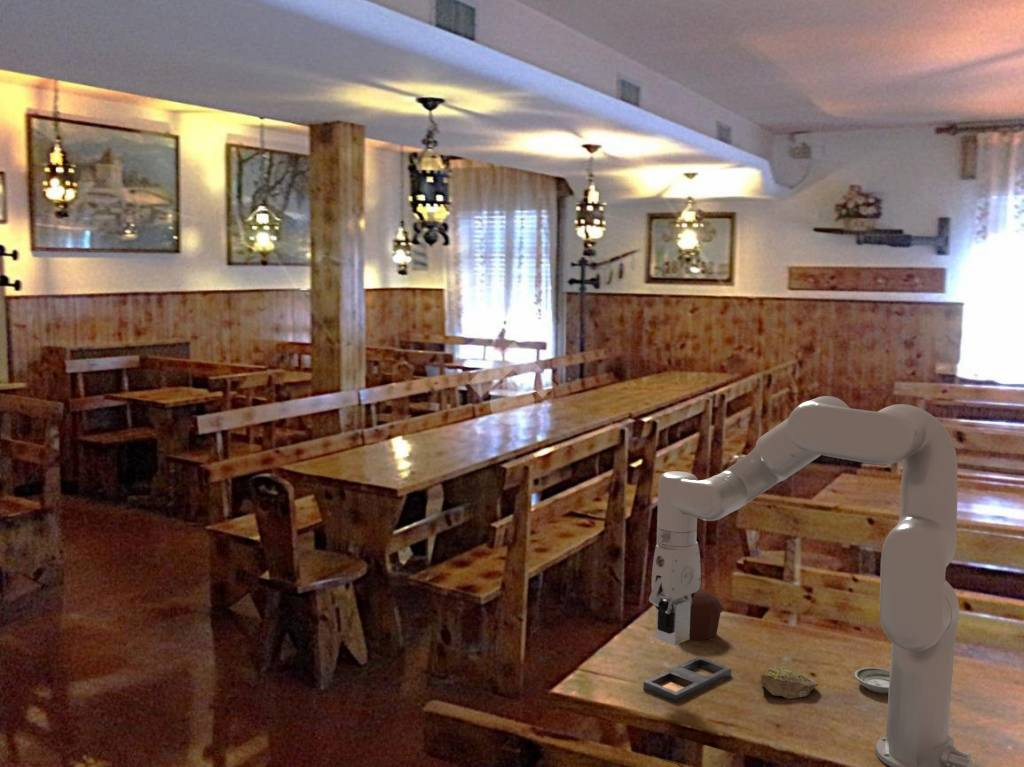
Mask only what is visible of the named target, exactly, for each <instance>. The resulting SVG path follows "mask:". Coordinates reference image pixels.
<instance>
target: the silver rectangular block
mask: <svg viewBox="0 0 1024 767" xmlns="http://www.w3.org/2000/svg"><path fill="white" fill-rule="evenodd" d="M663 602H664V603H665V604H666V603H667V600H665V599H663ZM690 607H691V600H690V599H687V598H684V597H682V598H679V599H676V600H673V603H672V609H671V613H673V630H672V633H671V634H668V633H666V632H663V631H660V630H658V611H657V610H656V613H657V614H656V634H655V635H656V636H655V637H656V640H659V641H662V642H664V643H666V644H667V643H668V644H670V645H673V646H676V645H680V644H682V643H684V642H687V641H690V640H689V634H690Z"/></svg>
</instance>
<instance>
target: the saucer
mask: <svg viewBox="0 0 1024 767" xmlns="http://www.w3.org/2000/svg"><path fill="white" fill-rule="evenodd" d="M853 674H854V678H855V680H856V681H857V682H859V684H860V685H862V686H863V687H864V688H867V689H868V690H869V691H870V692H873V693H876V694H877V693H878V694H884V695H885V694H887V695H888V694H889V677H890V669H886V668H880V667H862V668H859V669H857V670H855V672H854V673H853Z"/></svg>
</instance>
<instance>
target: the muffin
mask: <svg viewBox="0 0 1024 767" xmlns="http://www.w3.org/2000/svg"><path fill="white" fill-rule="evenodd" d="M723 610H724V606H723V604H722V602H721V601H720V599H719V598H718V596H716V595H715V593H712V592H711V591H709V590H708V589H706V588H705V589H704V588H701V587H700V588H699V590H698V591H696V592H695V594H694V596H693V598H692V605H691V607H690V634H689V640H688V641H691V640H692V641H691V642H695V641H698V642H710V641H711V639H712V640H715V639H717V633H718V630H719V629H718V627H719V623H720V617H721V613H722V612H723ZM714 638H715V639H714ZM709 640H710V641H709Z"/></svg>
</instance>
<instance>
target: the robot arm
mask: <svg viewBox="0 0 1024 767" xmlns="http://www.w3.org/2000/svg"><path fill="white" fill-rule="evenodd" d="M820 456H824V457H828V458H829V457H831V458H836V459H841V460H847V461H854V462H858V463H864V464H869V465H870V464H871V465H872V464H873V465H877V466H879V465H881V466H882V465H883V466H885V465H893V464H897V463H898V462H900V461H901V464H902V474H901V481H900V502H899V503H900V507H899V508H900V509H899V518H898V523H897V524H896V525H895V526H894V527H893V528H892V529H891V530H890V531H889V532H888V534H887V536H885V537H886V538H885V539H884V542H883V545H882V549H881V555H880V573H879V574H880V577H879V578H880V579H879V580H880V581H879V583H880V584H879V609H878V610H879V621H880V624H881V628H882V630H883V632H884V634H885V635H886V637H887V638H888V640H889V641H890V642H891V650H890V664H889V670H890V677H889V693H888V694H887V695H888V696H887V697H888V698H887V713H886V714H887V717H886V729H885V730H886V733H885V736H883V737H880V738H879V739H878V740H877V742H876V744H875V754H876V756H877V757H878V758H879V760H880V761H881V762H882V763H884V764H885V765H887V766H889V767H973V760H972V759H971V754H970V753H969V752H966V751H963V750H960V749H957V748H956V746H955V738H954V737H953V736H950V735H949V731H950V730H949V727H950V726H949V725H950V712H951V711H950V710H951V698H952V685H953V684H952V683H953V682H952V681H953V680H952V679H953V672H954V671H953V669H954V659H955V658H954V657H955V646H956V638H957V633H958V632H957V630H958V624H959V616H960V604H959V600H958V596H957V593H956V591H955V590H954V588H953V586H952V585H951V584H950V583H949V582H948V581H947V580H946V571H947V567H948V566H949V565H950V563H951V562H952V561H953V560H954V557H955V555H956V551H957V549H958V536H957V534H958V532H957V529H958V528H957V527H958V525H957V524H958V523H957V521H958V459H957V453H956V447H955V445H954V442H953V439H952V436H951V435H950V433H949V432H948V430H947V428H946V427H945V426H944V425H943V423H942V422H940V420H939V419H937V417H935V416H933V414H931V413H930V412H928V411H926V410H925V409H923V408H919V407H918V406H915V405H911V404H904V403H900V404H892V405H888V406H886V407H884V408H882V409H880V410H878V411H873V410H865V409H858V408H851V407H849V406H848V404H847V403H846V402H844V401H843V400H842V399H840V398H838V397H836V396H833V395H831V396H830V395H823V396H818V397H816V398H813V399H810V400H806V401H804V402H802V403H800V404H799V405H797V406H796V407H795V408H794V409H793V410H791V412H790V414H789V416H788V418H786V419H784V420H783V421H782V422H780V423H779V424H777V425H775V427H773V428H772V429H770V430H768V431H767V432H766V433H764V434H763V435H762V436H760V437H759V438H758V439H757V440H756V443H755V446H754V448H753V449H752V450H751V451H750V452H749V453H748V454H747V455H745V456H743V457H742V458H740V459H739V460H738V461H737V462H735V463H734V464H733V465H731V466H730V467H728V468H726V469H724V470H723V471H722V472H720V473H717V474H716V475H713V476H711V477H709V478H705V479H701V480H699V479H698V478H697V476H696V475H695V474H693V473H690V472H689V471H688V472H687V471H681V470H680V471H678V470H676V471H675V470H674V471H671V470H670V471H667V472H663V473H662V474H661V475H660V476H659V478H658V484H657V485H658V486H657V487H658V490H657V516H656V520H657V521H656V545H655V549H654V553H653V554H654V555H653V560H652V561H653V562H652V570H651V593H650V595H649V598H648V601H649V603H651V604H652V605H654V607H655V610H656V612H657V611H658V630H660V631H663V632H666V633H668V634H671V633H672V630H673V613H671V609H672V603H673V600H676V599H679V598H682V597H684V598H687V599H690V600H691V605H692V598H693V596H694V594H695V592H696V591H698V590H699V588H700V589H701V581H702V580H701V575H702V574H701V572H702V571H701V554H700V548H699V542H698V541H697V534H698V533H697V529H698V528H697V527H698V519H700V520H702V521H706V522H715V521H717V520H720V519H722V518H725V517H726V516H728V515H729V514H731V513H733V512H736V511H737V510H739V509H742V507H744V506H746V505H747V504H749V503H750V502H752V501H753V500H754V499H756V498H758V497H759V496H761V495H762V494H763V493H765V492H766V491H768V490H769V489H772V487H774V486H775V485H777V484H778V483H780V482H782V481H785V480H787V479H788V478H790V477H792V475H794V474H795V473H797V472H798V471H800V470H802V469H803V468H804V467H805V466H807V465H808V464H810V463H812V462H813V461H815V460H816V459H818V458H819V457H820ZM663 599H665V600H667V603H666V604H665V603H664V602H663Z"/></svg>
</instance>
